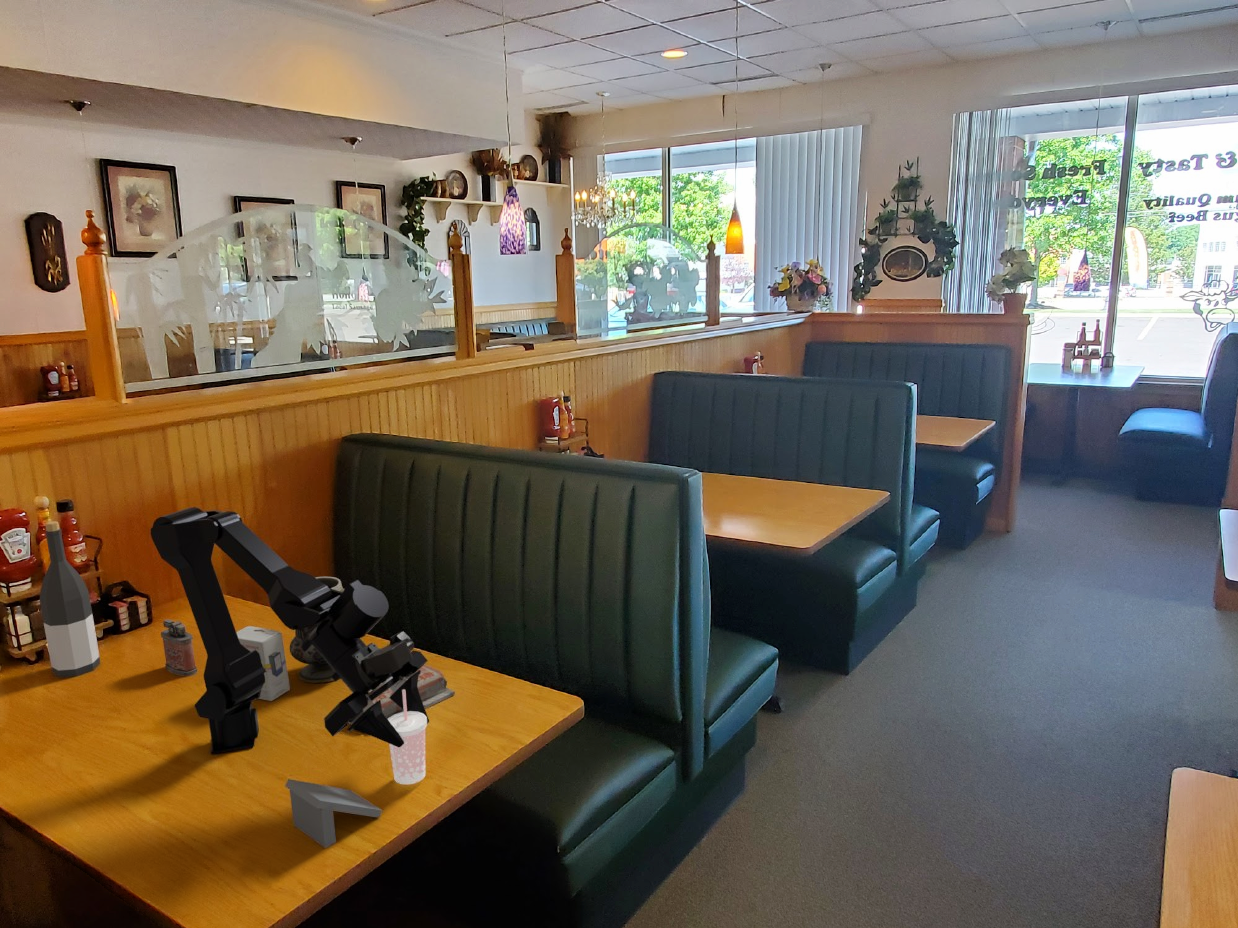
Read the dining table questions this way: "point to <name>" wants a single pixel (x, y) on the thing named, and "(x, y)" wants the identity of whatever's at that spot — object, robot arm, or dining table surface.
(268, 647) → the ink box
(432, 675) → the packaged product
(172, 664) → the lighter
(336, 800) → the ramp
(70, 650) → the wine bottle
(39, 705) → the dining table surface
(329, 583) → the apothecary jar
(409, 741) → the beverage cup
